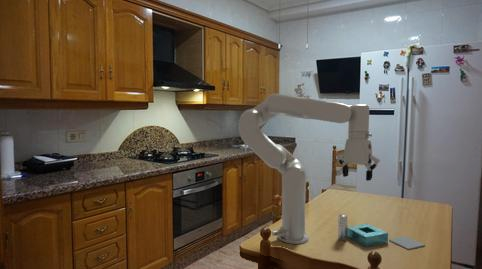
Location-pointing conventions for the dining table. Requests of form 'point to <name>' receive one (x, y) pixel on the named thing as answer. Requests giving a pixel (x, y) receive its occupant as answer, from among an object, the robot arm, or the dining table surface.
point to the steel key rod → (342, 227)
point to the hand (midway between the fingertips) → (356, 178)
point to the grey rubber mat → (407, 242)
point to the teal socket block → (367, 235)
